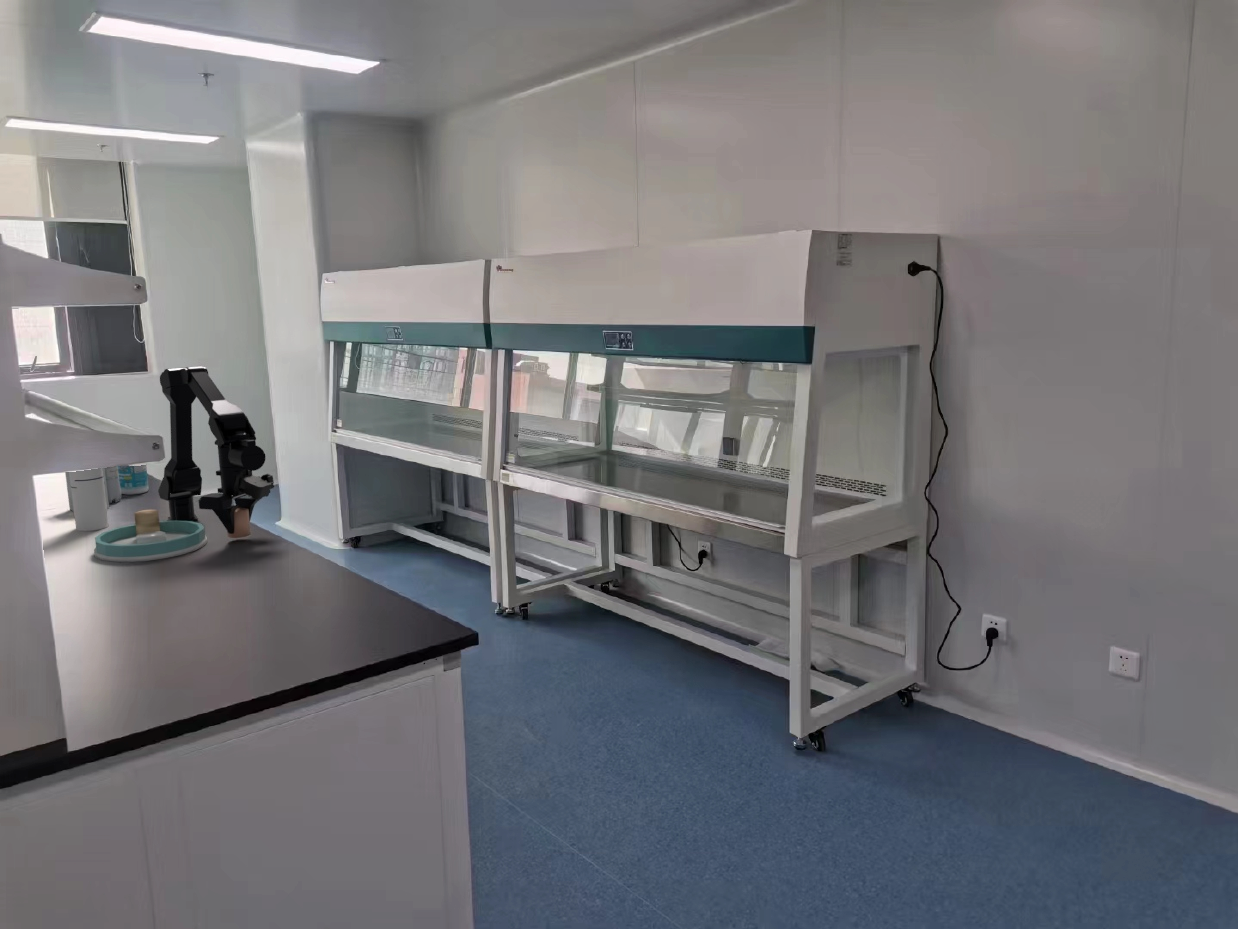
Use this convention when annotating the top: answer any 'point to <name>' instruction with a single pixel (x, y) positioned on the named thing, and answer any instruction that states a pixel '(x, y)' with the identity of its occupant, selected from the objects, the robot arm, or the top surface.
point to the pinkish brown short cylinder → (241, 523)
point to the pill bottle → (133, 479)
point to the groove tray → (150, 542)
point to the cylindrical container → (89, 499)
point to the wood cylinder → (147, 521)
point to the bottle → (113, 484)
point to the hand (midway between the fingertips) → (238, 530)
